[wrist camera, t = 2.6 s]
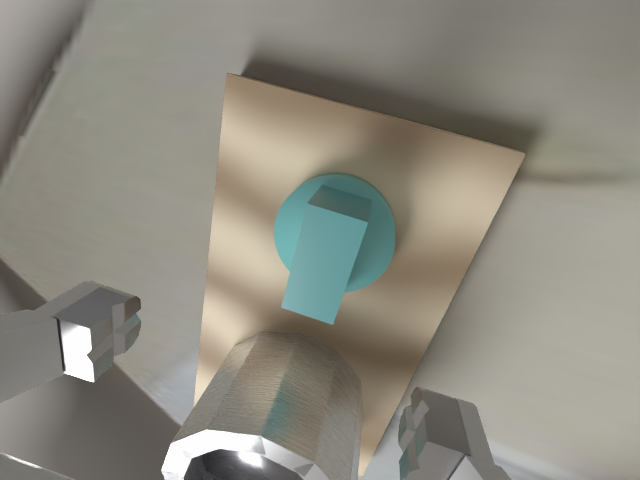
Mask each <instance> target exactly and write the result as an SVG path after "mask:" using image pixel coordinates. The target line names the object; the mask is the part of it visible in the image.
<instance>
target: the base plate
mask: <svg viewBox="0 0 640 480" xmlns="http://www.w3.org/2000/svg"><path fill="white" fill-rule="evenodd" d="M525 155H526V154H525V153H523V152H520V151H518V150H515V149H512V148H508V147H505V146H501V145H497V144H493V143H490V142H486V141H482V140H479V139H475V138H471V137H468V136H464V135H460V134H456V133H453V132H449V131H445V130H442V129H438V128H434V127H430V126H427V125H423V124H419V123H416V122H412V121H408V120H405V119H401V118H397V117H393V116H390V115H386V114H382V113H379V112H375V111H371V110H367V109H364V108H360V107H356V106H353V105H349V104H345V103H341V102H338V101H334V100H330V99H327V98H323V97H319V96H316V95H312V94H308V93H304V92H301V91H297V90H293V89H290V88H286V87H282V86H278V85H275V84H271V83H267V82H264V81H260V80H256V79H252V78H249V77H245V76H241V75H236V74H229V73H227V77H226V87H225V97H224V107H223V117H222V127H221V137H220V147H219V157H218V167H217V177H216V187H215V197H214V207H213V217H212V227H211V237H210V247H209V257H208V267H207V277H206V287H205V297H204V307H203V317H202V327H201V337H200V347H199V357H198V367H197V377H196V387H195V397H194V407H195V405H196V403H197V402H198V400H199V399H200V397H201V396H202V394H203V393H204V391H205V389H206V388H207V386H208V385H209V383H210V382H211V380H212V379H213V377H214V375H215V374H216V372H217V371H218V369H219V368H220V366H221V364H222V363H223V361H224V360H225V358H226V357H227V355H228V354H229V352H230V350H231V349H232V347H233V346H234V345H236V344H238V343H240V342H242V341H244V340H246V339H248V338H250V337H252V336H254V335H255V334H257V333H259V332H261V331H267V332H291V333H302V334H304V335H306V336H308V337H310V338H312V339H314V340H316V341H318V342H320V343H322V344H324V345H326V346H328V347H330V348H332V349H334V350H336V351H338V352H339V353H340V354H341V356H342V357H343V358H344V359H345V361H346V362H347V363H348V365H349V366H350V367H351V368H352V370H353V371H354V372H355V373H356V375H357V376H358V377H359V378H360V380H361V385H362V397H363V409H364V412H363V423H362V434H361V445H360V456H359V467H358V476H360V477H362V475H363V473H364V471H365V469H366V467H367V465H368V463H369V462H370V460H371V458H372V456H373V454H374V452H375V450H376V448H377V446H378V444H379V442H380V440H381V438H382V436H383V434H384V432H385V430H386V428H387V426H388V424H389V422H390V420H391V418H392V416H393V414H394V412H395V410H396V409H397V407H398V405H399V403H400V401H401V399H402V397H403V395H404V393H405V391H406V389H407V387H408V385H409V383H410V381H411V379H412V377H413V375H414V373H415V371H416V369H417V367H418V365H419V363H420V361H421V359H422V357H423V355H424V354H425V352H426V350H427V348H428V346H429V344H430V342H431V340H432V338H433V336H434V334H435V332H436V330H437V328H438V326H439V324H440V322H441V320H442V318H443V316H444V314H445V312H446V310H447V308H448V306H449V304H450V302H451V301H452V299H453V297H454V295H455V293H456V291H457V289H458V287H459V285H460V283H461V281H462V279H463V277H464V275H465V273H466V271H467V269H468V267H469V265H470V263H471V261H472V259H473V257H474V255H475V253H476V251H477V249H478V247H479V246H480V244H481V242H482V240H483V238H484V236H485V234H486V232H487V230H488V228H489V226H490V224H491V222H492V220H493V218H494V216H495V214H496V212H497V210H498V208H499V206H500V204H501V202H502V200H503V198H504V196H505V194H506V193H507V191H508V189H509V187H510V185H511V183H512V181H513V179H514V177H515V175H516V173H517V171H518V169H519V167H520V165H521V163H522V161H523V159H524V157H525ZM326 173H346V174H351V175H354V176H357V177H360V178H362V179H364V180H366V181H368V182H369V183H370V184H372V185H373V186H375V187H376V188H377V189H378V190H379V191H380V192H381V193H382V195H383V196H384V197H385V199H386V200H387V202H388V203H389V205H390V208H391V210H392V213H393V217H394V222H395V249H394V254H393V257H392V260H391V262H390V264H389V266H388V267H387V269H386V270H385V272H384V273H383V274H382V275H381V276H380V277H379V278H378V279H377V280H375V281H374V282H373V283H371V284H370V285H368V286H366V287H364V288H362V289H359V290H356V291H352V292H345V293H344V294H343V297H342V300H341V303H340V306H339V309H338V312H337V315H336V318H335V321H334V323H333V325H332V324H329V323H326V322H323V321H320V320H317V319H314V318H311V317H308V316H305V315H302V314H299V313H296V312H293V311H290V310H287V309H284V308H281V306H282V302H283V298H284V294H285V290H286V286H287V282H288V278H289V274H290V271H289V270H288V269H287V268H286V266H285V265H284V264H283V262H282V260H281V259H280V257H279V254H278V252H277V249H276V245H275V240H274V224H275V220H276V216H277V213H278V211H279V209H280V207H281V205H282V204H283V202H284V201H285V200H286V199H287V197H288V196H289V195H290V194H291V193H292V192H293V191H295V190H296V189H297V188H298V187H299V186H300V185H301V184H302V183H304V182H305V181H307V180H308V179H311V178H313V177H315V176H318V175H321V174H326ZM194 407H193V408H194Z"/></svg>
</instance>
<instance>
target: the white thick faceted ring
mask: <svg viewBox="0 0 640 480" xmlns="http://www.w3.org/2000/svg"><path fill="white" fill-rule="evenodd" d="M363 412H364V409H363V397H362V385H361V380H360V378H359V377H358V376H357V375H356V373H355V372H354V371H353V370H352V368H351V367H350V366H349V365H348V363H347V362H346V361H345V359H344V358H343V357H342V356H341V354H340V353H339V352H338V351H336V350H334V349H332V348H330V347H328V346H326V345H324V344H322V343H320V342H318V341H316V340H314V339H312V338H310V337H308V336H306V335H304V334H302V333H291V332H267V331H261V332H259V333H257V334H255V335H254V336H252V337H250V338H248V339H246V340H244V341H242V342H240V343H238V344H236V345H234V346H233V347H232V349H231V350H230V352H229V354H228V355H227V357H226V358H225V360H224V361H223V363H222V364H221V366H220V368H219V369H218V371H217V372H216V374H215V375H214V377H213V379H212V380H211V382H210V383H209V385H208V386H207V388H206V389H205V391H204V393H203V394H202V396H201V397H200V399H199V400H198V402H197V403H196V405H195V407H194V408H193V410H192V411H191V413H190V414H189V416H188V418H187V419H186V421H185V422H184V424H183V425H182V427H181V428H180V430H179V432H178V433H177V435H176V436H175V438H174V440H173V441H172V443H171V445H170V448H169V451H168V454H167V457H166V459H165V462H164V465H163V467H162V470H161V471H162V473H163V476H164V478H165V480H357V478H358V467H359V456H360V445H361V434H362V423H363Z"/></svg>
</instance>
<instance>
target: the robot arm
mask: <svg viewBox="0 0 640 480" xmlns="http://www.w3.org/2000/svg"><path fill="white" fill-rule="evenodd" d="M140 309H141V302H140V299H139V298H138V297H137V296H134V295H131V294H128V293H125V292H122V291H120V290H117V289H114V288H111V287H108V286H104V285H101V284H98V283H96V282H93V281H85V282H82V283H81V284H79V285H77V286H76V287H74V288H72V289H70V290H69V291H67V292H65V293H63V294H62V295H60V296H58V297H57V298H55V299H53V300H51V301H50V302H48V303H46V304H44V305H43V306H41V307H39V308H38V309H36V310H34V311H31V310H23V311H18V312H14V313H9V314H5V315H0V403H1V402H3V401H5V400H8V399H10V398H12V397H14V396H17V395H19V394H21V393H23V392H26V391H28V390H30V389H32V388H35V387H37V386H39V385H41V384H44V383H46V382H48V381H50V380H53V379H55V378H57V377H59V376H62V375H63V373H66V374H69V375H73V376H76V377H79V378H82V379H85V380H89V381H92V382H94V381H95V380H96V379H97V378H99V377H100V376H101V375H102V374H103V373H104V372H105V371H106V370H107V369H108V368H109V367H110V366H111V365H112V364H113V360H114V356H116V355H119V354H122V353H125V352H126V351H127V350H128V349H129V348H130V347H131V346H132V345H133V343H134V342H135V340H136V339H137V337H138V335H139V331H140V328H141V321H140V319H139V317H138V316H137V314H136V313H137V312H138V311H139V310H140ZM411 403H412V405H409V406H407V407H405V409H404V411H403V414H402V416H401V420H400V424H399V433H398V440H399V446H400V447H401V449H402V451H403V452H404V453H403V455H402V457H401V459H400V461H399V464H400V480H511V479H510V477H509V476H508V475H507V474H506V472H505V471H504V470H503V469H502V468H501V467H500V466H497V465H495V464H494V461H493V457H492V454H491V451H490V448H489V445H488V442H487V439H486V435H485V432H484V429H483V426H482V423H481V420H480V416H479V413H478V410H477V407H476V406H475V405H474V404H473V403H470V402H467V401H463V400H460V399H457V398H452V397H450V396H446V395H443V394H440V393H437V392H433V391H430V390H427V389H424V388H421V387H417V388H416V389H414V391H413V393H412V395H411ZM0 480H75V479H72V478H69V477H67V476H64V475H61V474H58V473H56V472H53V471H51V470H48V469H45V468H42V467H40V466H37V465H34V464H32V463H29V462H26V461H23V460H21V459H18V458H15V457H13V456H10V455H7V454H5V453H2V452H0Z"/></svg>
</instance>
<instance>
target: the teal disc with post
mask: <svg viewBox="0 0 640 480" xmlns="http://www.w3.org/2000/svg"><path fill="white" fill-rule="evenodd" d="M274 240H275V245H276V249H277V252H278V254H279V257H280V259H281V260H282V262H283V264H284V265H285V266H286V268H287V269H288V270H289V271H290V274H289V278H288V282H287V286H286V290H285V294H284V298H283V302H282V306H281V308H284V309H287V310H290V311H293V312H296V313H299V314H302V315H305V316H308V317H311V318H314V319H317V320H320V321H323V322H326V323H329V324H332V325H333V323H334V321H335V318H336V315H337V312H338V309H339V306H340V303H341V300H342V297H343V294H344V293H345V292H352V291H356V290H359V289H362V288H364V287H366V286H368V285H370V284H371V283H373V282H374V281H375V280H377V279H378V278H379V277H380V276H381V275H382V274H383V273H384V272H385V270H386V269H387V267H388V266H389V264H390V262H391V260H392V257H393V254H394V249H395V222H394V217H393V213H392V210H391V208H390V205H389V203H388V202H387V200H386V199H385V197H384V196H383V195H382V193H381V192H380V191H379V190H378V189H377V188H376V187H375V186H373V185H372V184H370V183H369V182H368V181H366V180H364V179H362V178H360V177H357V176H354V175H351V174H346V173H326V174H321V175H318V176H315V177H313V178H311V179H308V180H307V181H305V182H304V183H302V184H301V185H300V186H299V187H298V188H297V189H296V190H295V191H293V192H292V193H291V194H290V195H289V196H288V197H287V199H286V200H285V201H284V202H283V204H282V205H281V207H280V209H279V211H278V213H277V216H276V220H275V224H274Z"/></svg>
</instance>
